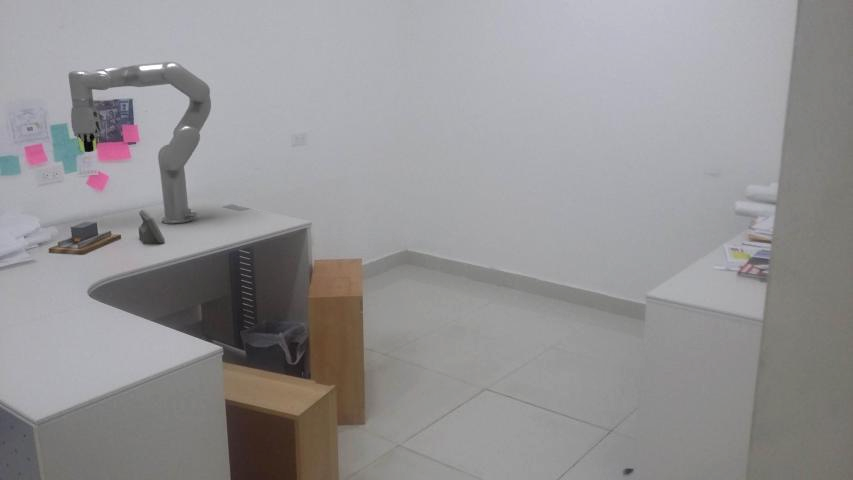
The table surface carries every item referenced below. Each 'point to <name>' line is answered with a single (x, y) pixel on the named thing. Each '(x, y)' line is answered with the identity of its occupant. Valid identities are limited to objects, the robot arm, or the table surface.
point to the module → (84, 231)
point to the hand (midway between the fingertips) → (89, 151)
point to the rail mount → (84, 244)
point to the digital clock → (149, 229)
